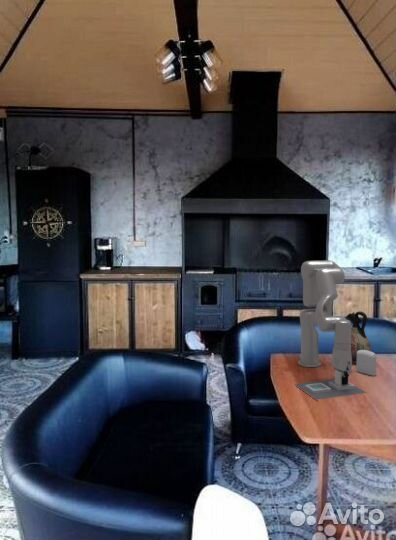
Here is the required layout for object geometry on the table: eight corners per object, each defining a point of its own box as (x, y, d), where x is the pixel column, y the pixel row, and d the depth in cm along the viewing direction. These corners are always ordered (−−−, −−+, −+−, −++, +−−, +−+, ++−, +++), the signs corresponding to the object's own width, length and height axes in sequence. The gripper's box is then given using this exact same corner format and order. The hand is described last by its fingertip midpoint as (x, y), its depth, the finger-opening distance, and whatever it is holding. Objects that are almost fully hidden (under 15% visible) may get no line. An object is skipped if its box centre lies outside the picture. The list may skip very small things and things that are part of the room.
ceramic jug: (336, 361, 251) (337, 310, 248) (351, 356, 261) (352, 306, 258) (362, 368, 238) (364, 314, 235) (378, 362, 247) (379, 311, 244)
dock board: (294, 386, 212) (294, 381, 212) (340, 380, 220) (340, 375, 219) (317, 401, 193) (317, 396, 193) (366, 394, 201) (366, 389, 200)
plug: (334, 385, 209) (334, 369, 209) (344, 384, 211) (345, 368, 210) (339, 388, 206) (339, 372, 205) (350, 387, 207) (350, 371, 206)
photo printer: (354, 371, 232) (355, 349, 231) (359, 370, 235) (359, 347, 234) (373, 376, 224) (373, 353, 223) (377, 374, 227) (377, 351, 226)
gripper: (325, 341, 213) (324, 378, 215) (346, 350, 197) (345, 389, 199) (338, 340, 215) (338, 376, 217) (360, 349, 199) (359, 388, 201)
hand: (341, 382), depth 208 cm, fingers closed on plug, 4 cm apart
